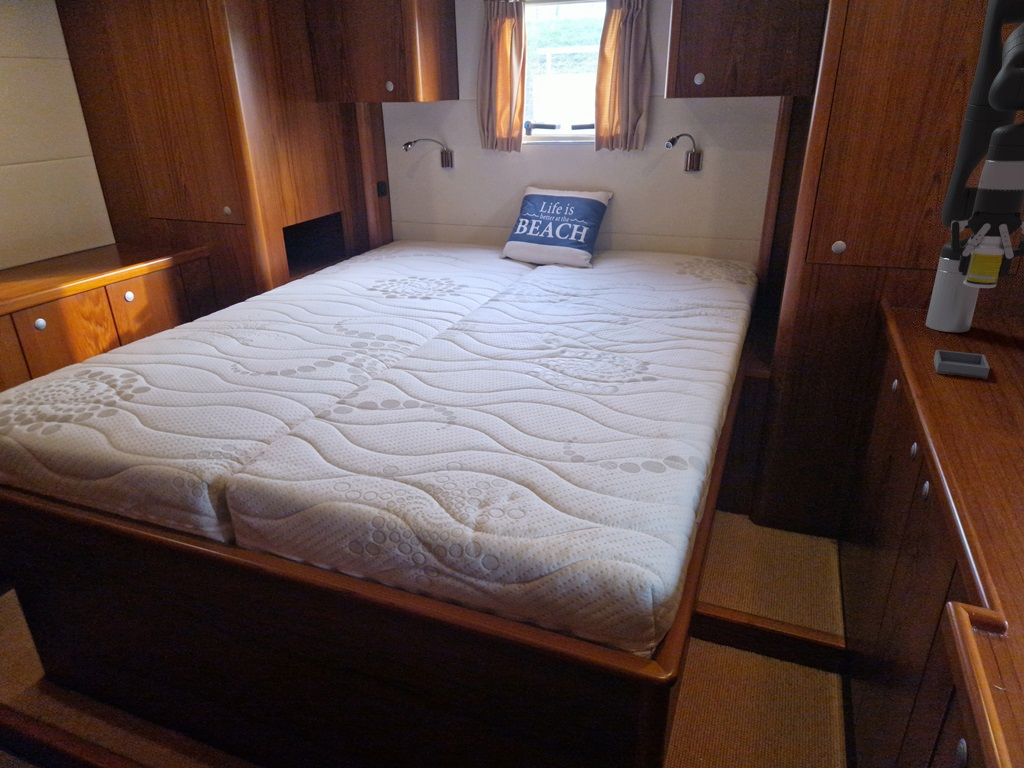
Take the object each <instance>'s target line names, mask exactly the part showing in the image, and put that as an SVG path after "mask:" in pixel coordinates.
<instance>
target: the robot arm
mask: <svg viewBox="0 0 1024 768" xmlns="http://www.w3.org/2000/svg"><path fill="white" fill-rule="evenodd" d="M1011 24H1020V25H1019V26H1018V27H1016V28H1015V29H1014V30H1013V32H1011V34H1010V35H1009V36H1008V37H1007V39H1006V40H1005V43H1004V44H1003V35H1002V32H1003V31H1002V30H1003V26H1004V25H1011ZM982 32H983V33H982V38H981V44H980V49H979V50H980V51H979V56H978V61H977V65H976V70H975V74H974V77H973V81H972V85H971V90H970V93H969V97H968V101H967V105H966V108H965V114H964V119H963V124H962V129H961V134H960V139H959V140H960V141H959V145H958V150H957V154H956V159H955V162H954V166H953V170H952V174H951V177H950V181H949V185H948V188H947V191H946V195H945V197H944V201H943V206H942V210H941V211H942V212H941V223H942V226H943V227H945V228H950V241H948V242H946V243H945V244H943V245H942V247H941V250H940V255H939V259H938V265H937V269H936V274H935V278H934V279H935V280H934V285H933V288H932V294H931V297H930V302H929V307H928V311H927V316H926V321H925V326H926V327H927V328H929V329H932V330H935V331H941V332H944V333H945V332H946V333H947V332H948V333H966V332H969V331H970V329H971V324H972V322H973V317H974V314H975V309H976V303H977V300H978V296H979V292H980V288H975V287H970V286H967V285H965V284H964V283H963V282H964V277H965V276H966V273H967V269H968V265H969V260H970V253H971V252H972V250H973V249H974V248H975V247H976V246H977V245H978V243H979V242H980V240H981V239H982V238H983V236H999V237H1001V239H1002V244H1001V245H1000V246H1001V247H1002V248H1003V249H1004V252H1005V253H1004V257H1003V261H1002V265H1001V269H1000V273H999V276H998V279H1003V278H1004V276H1008V275H1009V274H1010V270H1011V265H1012V261H1013V260H1014V258H1017V257H1024V221H1023V220H1022V211H1023V206H1024V120H1023V121H1021V122H1017V123H1015V121H1016V118H1017V113H1018V112H1019V111H1020V112H1024V0H988V2H987V8H986V11H985V19H984V27H983V31H982ZM984 158H986V159H985V162H984V165H983V167H982V169H981V170H982V171H981V174H980V177H979V182H978V186H966V185H967V182H968V181H969V180H970V177H971V175H972V174H973V172H974V171H975V170H976V168H977V167H978V165H979V164H980V163H981V162H982V161H983V159H984ZM1019 228H1021V233H1022V234H1023V235H1022V238H1021V240H1020V242H1019V243H1018V245H1017V248H1014V249H1013V248H1012V246H1013V245H1012V242H1011V237H1010V236H1011V235H1012V234H1013V233H1015V232H1016V231H1017V230H1018V229H1019ZM965 229H970V231H971V232H972V233H971V235H968V236H967V237H963V238H960V233H962V232H964V230H965Z"/></svg>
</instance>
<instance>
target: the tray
mask: <svg viewBox="0 0 1024 768" xmlns="http://www.w3.org/2000/svg"><path fill="white" fill-rule="evenodd" d="M933 357H934V358H933V364H934V368H935V374H939V375H945V374H948V375H947V376H953V375H961V376H968V377H967V378H969V377H976V378H975V379H978V378H983V379H982V380H986V379H987V380H988V377H989V372H990V369H991V368H990V366H989V363H988V361H987V358H986V356H985V354H979V353H969V352H960V351H952V350H942V349H935V352H934V356H933ZM961 376H960V377H961Z"/></svg>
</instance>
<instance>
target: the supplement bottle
mask: <svg viewBox="0 0 1024 768" xmlns="http://www.w3.org/2000/svg"><path fill="white" fill-rule="evenodd" d="M1001 244H1002V239H1001V237H999V236H983V238H982V239H981V240H980V242H979V243H978V245H977V246H976V247H975V248H974V249H973V250H972V252H971V253H970V260H969V265H968V269H967V273H966V276H965V277H964V282H963V283H964V284H965V285H967V286H970V287H975V288H979V289H993V288H995V287H997V283H998V280H999V277H998V276H999V273H1000V269H1001V265H1002V261H1003V257H1004V253H1005V252H1004V249H1003V248H1002V245H1001Z"/></svg>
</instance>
